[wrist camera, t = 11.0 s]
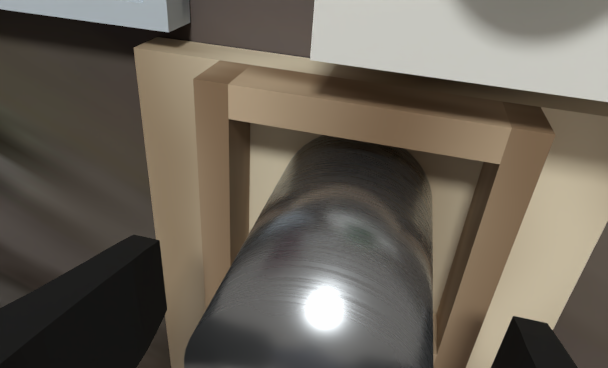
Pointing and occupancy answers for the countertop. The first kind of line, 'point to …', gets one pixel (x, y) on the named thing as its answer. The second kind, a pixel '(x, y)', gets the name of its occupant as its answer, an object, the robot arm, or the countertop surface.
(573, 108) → the board
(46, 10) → the tray
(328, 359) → the cylinder
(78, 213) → the countertop surface
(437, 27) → the button housing
